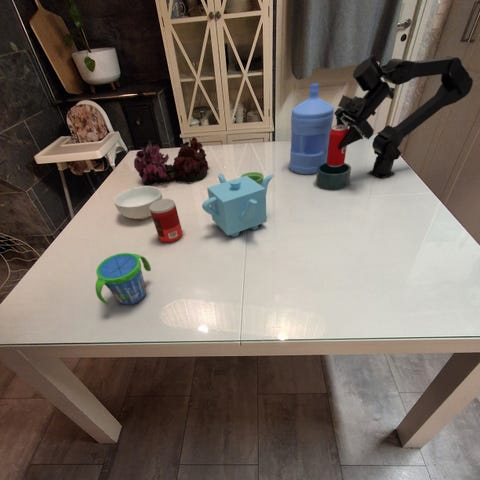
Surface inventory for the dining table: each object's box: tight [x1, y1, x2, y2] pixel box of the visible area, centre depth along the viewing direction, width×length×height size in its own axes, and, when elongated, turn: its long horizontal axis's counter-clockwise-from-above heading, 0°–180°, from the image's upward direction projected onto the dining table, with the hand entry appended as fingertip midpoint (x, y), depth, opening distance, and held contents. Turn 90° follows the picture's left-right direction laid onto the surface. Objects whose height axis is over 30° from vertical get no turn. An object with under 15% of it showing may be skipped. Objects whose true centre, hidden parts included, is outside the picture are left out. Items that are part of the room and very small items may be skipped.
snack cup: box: [95, 252, 152, 306], centre depth 76 cm, size 16×10×10 cm
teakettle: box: [201, 173, 275, 238], centre depth 93 cm, size 19×19×15 cm
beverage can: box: [327, 124, 349, 167], centre depth 104 cm, size 6×6×12 cm
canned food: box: [149, 198, 183, 244], centre depth 94 cm, size 8×8×11 cm
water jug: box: [289, 82, 335, 175], centre depth 115 cm, size 16×16×28 cm
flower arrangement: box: [133, 136, 209, 186], centre depth 125 cm, size 31×20×15 cm, turn 101°
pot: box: [315, 162, 352, 191], centre depth 112 cm, size 12×12×6 cm
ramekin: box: [240, 171, 265, 185], centre depth 115 cm, size 9×9×4 cm
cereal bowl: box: [113, 185, 163, 220], centre depth 108 cm, size 17×17×7 cm
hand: (333, 145), depth 104 cm, fingers closed on beverage can, 6 cm apart
